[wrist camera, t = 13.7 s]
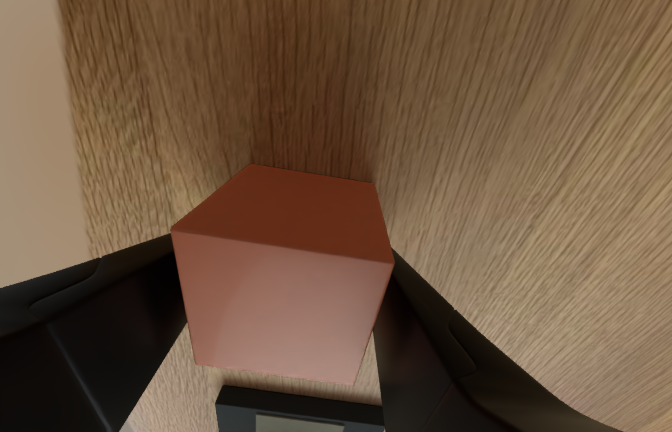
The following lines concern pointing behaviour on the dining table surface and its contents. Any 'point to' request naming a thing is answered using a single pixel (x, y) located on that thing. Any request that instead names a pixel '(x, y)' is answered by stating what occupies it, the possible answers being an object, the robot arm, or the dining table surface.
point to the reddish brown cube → (284, 274)
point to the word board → (292, 413)
